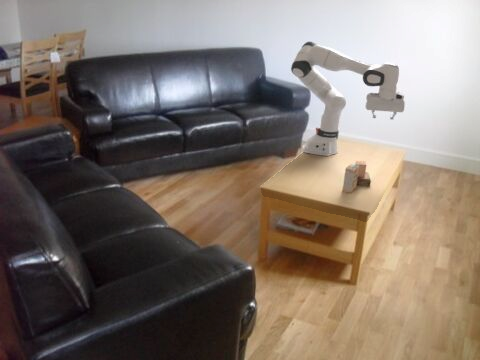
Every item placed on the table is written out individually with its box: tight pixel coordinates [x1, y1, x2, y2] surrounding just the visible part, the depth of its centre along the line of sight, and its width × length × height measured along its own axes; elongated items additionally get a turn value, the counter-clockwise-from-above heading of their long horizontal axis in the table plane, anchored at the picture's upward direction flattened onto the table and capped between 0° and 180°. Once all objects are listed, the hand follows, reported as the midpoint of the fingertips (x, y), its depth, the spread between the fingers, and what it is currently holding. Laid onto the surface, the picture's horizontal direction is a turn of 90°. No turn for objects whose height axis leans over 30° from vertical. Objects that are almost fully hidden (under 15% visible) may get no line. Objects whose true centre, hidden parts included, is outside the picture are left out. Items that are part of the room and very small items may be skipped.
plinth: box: [356, 171, 372, 187], centre depth 265 cm, size 11×11×4 cm
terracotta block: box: [354, 160, 367, 177], centre depth 263 cm, size 5×5×7 cm
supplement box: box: [342, 163, 359, 194], centre depth 253 cm, size 8×5×13 cm, turn 148°
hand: (382, 118), depth 267 cm, fingers open, 8 cm apart
